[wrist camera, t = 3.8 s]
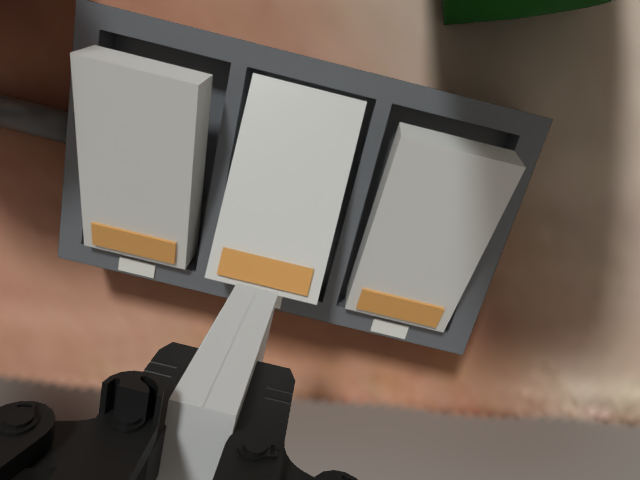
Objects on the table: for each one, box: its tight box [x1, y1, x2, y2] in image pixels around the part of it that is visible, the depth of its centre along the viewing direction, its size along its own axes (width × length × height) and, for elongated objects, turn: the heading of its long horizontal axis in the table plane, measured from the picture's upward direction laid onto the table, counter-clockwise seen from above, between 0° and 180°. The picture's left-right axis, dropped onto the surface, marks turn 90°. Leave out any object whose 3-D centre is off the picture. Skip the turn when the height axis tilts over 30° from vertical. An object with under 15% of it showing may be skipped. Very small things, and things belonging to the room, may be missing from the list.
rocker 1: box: [70, 45, 213, 270], centre depth 21 cm, size 5×9×2 cm, turn 166°
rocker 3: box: [345, 122, 526, 332], centre depth 21 cm, size 5×9×2 cm, turn 166°
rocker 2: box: [205, 73, 367, 305], centre depth 21 cm, size 5×9×2 cm, turn 166°
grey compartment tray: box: [0, 0, 553, 355], centre depth 23 cm, size 27×12×4 cm, turn 76°
